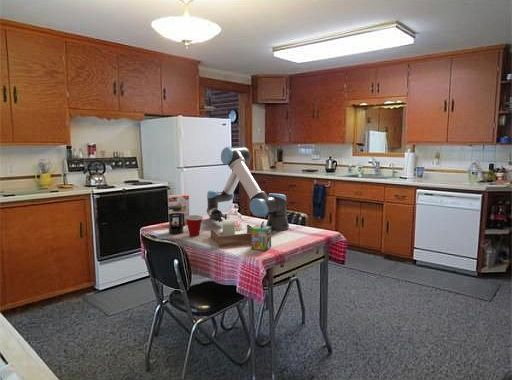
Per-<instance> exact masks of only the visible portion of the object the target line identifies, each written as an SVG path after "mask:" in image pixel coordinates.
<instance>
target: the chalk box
mask: <svg viewBox="0 0 512 380" xmlns="http://www.w3.org/2000/svg"><path fill="white" fill-rule="evenodd" d="M264 223H265V220H263V221H262V222H261V224H260V225H259V224H256V225H254V226H252V227H253V228H252V230H251V234H252V244H251V250H257V251H265V252H266V251H268V250H269V249H270V248H272V230H271V226H266V225H264Z"/></svg>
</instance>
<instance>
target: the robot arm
mask: <svg viewBox="0 0 512 380" xmlns="http://www.w3.org/2000/svg"><path fill="white" fill-rule="evenodd" d="M251 155H252V154H251V152H250V150H249V149H248V148H247V147H246V146H225V147H224V148H223V149H222V150H221V153H220V161H221V163H222V164H223V165H224V166H225V165H227V166H228V168H229V169H230V170H232V171H231V173H230V175H229V177H228V179H227V181H226V184H225V186H224V188H223V190H222V191H218V190H216V189H212V190H208V191H207V194H206V196H207V197H206V199H207V208H206V214H207V215H208V219H209V220H213V221H214V222H218V223H222V224H223V220H228V219H227V218H228V214H227V213H222V211H221V210H220V209H219V203H225V202H230V201H233V200H234V197H235V194H234V192H235V190H236V188H237V186H238V184H239V182H240V183H241V186H242V187H243V188H244V190H245V192H246V193H247V196H248V197H249V210H250V213H252V215H253V216H255V217H266V216H268V218H267V222H266V225H265V226H271V231H279V232H280V231H287V230H289V228H290V224H289V221H288V217H287V196H286V195H285V194H283V193H282V194H281V193H273V192H272V193H271V192H270V193H269V194H268V195H267V193H266V192H265V191H263V190H261V188H260V186H259V184H258V182H257V181H256V180H255V178H254V176H253V175H252V173H251V171H250V170H249V168H248V167H249V165H250V164H251V159H252V158H251V157H252V156H251Z"/></svg>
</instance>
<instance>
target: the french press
mask: <svg viewBox="0 0 512 380" xmlns="http://www.w3.org/2000/svg"><path fill="white" fill-rule="evenodd" d="M172 198H174V200H176V198H178V197H172ZM167 209H168V211H169V210H171V209H172V210H174V211H175V213H171V214H169V213H168V214H167V217H168V225H169V227H168V234H169V235H172V236H174V235H176V236H177V235H181V234H183V233H184V227H185V226H186V225H185V222H184V213H176V211H181V210H182V206H169V205H168V207H167ZM172 215H175V216H172ZM176 215H178V216H176ZM178 217H179V222H178V221H176V218H178ZM173 218H175V222H173ZM182 222H183V225H182ZM173 225H176V226H173Z"/></svg>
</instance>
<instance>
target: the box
mask: <svg viewBox="0 0 512 380" xmlns="http://www.w3.org/2000/svg"><path fill="white" fill-rule="evenodd" d="M253 227H254V226H252V225H250V224H246V233H245V232H244V233H238V234H237V233H235V235H225V236H223V235H220V234H219V233H218V232H217V231H216V230H215V229H214V228H213V227H210V238H211V240H212V241H213V242H214V243H215V244H216V245H217V246H218V247H219V248H222V247H223V248H225V247H233V246H235V247H236V246H242V245H244V246H245V245H252V234H251V230H252V228H253Z"/></svg>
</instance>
